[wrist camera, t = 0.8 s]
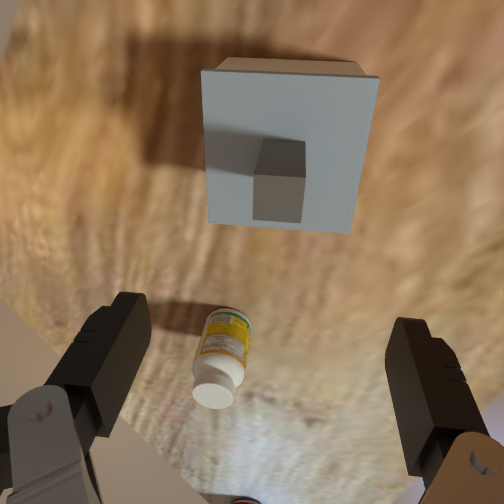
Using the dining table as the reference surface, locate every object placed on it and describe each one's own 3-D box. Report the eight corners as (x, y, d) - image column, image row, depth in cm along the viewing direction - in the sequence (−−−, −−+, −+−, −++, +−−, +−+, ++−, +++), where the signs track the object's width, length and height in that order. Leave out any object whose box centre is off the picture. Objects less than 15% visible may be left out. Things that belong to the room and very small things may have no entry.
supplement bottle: (223, 299, 42) (205, 370, 34) (261, 323, 43) (252, 397, 36) (197, 324, 45) (174, 395, 37) (233, 346, 46) (219, 420, 38)
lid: (203, 68, 22) (173, 92, 17) (377, 76, 22) (401, 103, 16) (210, 217, 28) (189, 269, 23) (348, 227, 27) (359, 283, 22)
